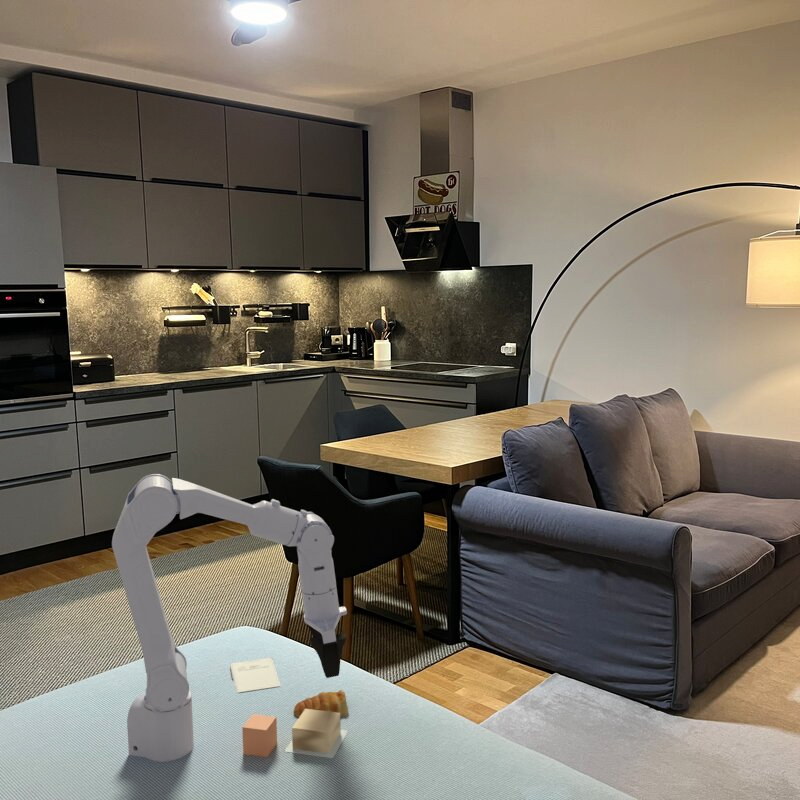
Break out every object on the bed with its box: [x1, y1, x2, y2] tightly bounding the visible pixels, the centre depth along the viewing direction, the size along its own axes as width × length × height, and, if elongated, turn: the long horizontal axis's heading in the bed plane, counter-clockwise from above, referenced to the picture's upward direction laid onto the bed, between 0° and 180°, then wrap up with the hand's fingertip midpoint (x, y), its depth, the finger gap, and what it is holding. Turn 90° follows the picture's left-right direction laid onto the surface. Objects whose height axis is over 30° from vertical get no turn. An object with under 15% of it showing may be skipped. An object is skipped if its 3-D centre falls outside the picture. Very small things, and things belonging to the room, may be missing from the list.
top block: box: [241, 713, 278, 758], centre depth 124 cm, size 4×4×4 cm
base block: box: [291, 709, 342, 753], centre depth 126 cm, size 6×6×4 cm
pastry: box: [293, 689, 349, 718], centre depth 136 cm, size 9×7×4 cm
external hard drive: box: [229, 657, 282, 694], centre depth 149 cm, size 2×8×12 cm
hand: (328, 665), depth 131 cm, fingers open, 7 cm apart
